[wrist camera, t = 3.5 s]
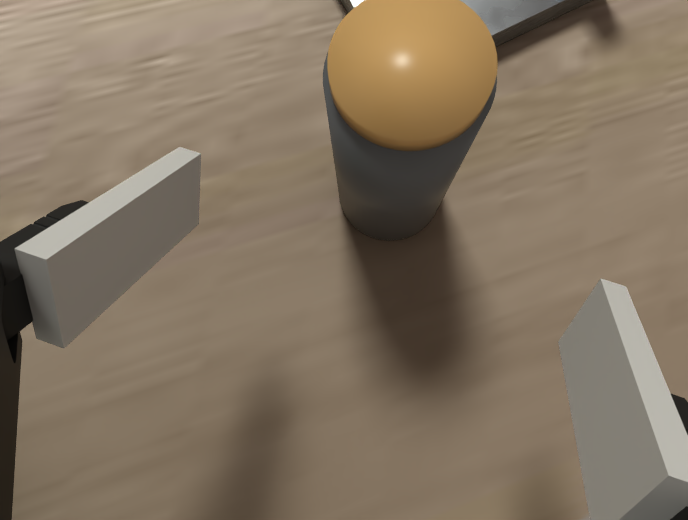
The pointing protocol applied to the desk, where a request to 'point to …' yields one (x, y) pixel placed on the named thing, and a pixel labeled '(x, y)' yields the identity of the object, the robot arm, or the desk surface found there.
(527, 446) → the desk surface
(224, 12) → the desk surface
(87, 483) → the desk surface
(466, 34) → the grey cylinder orange top
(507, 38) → the plate
